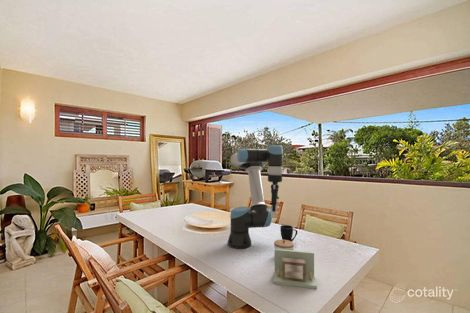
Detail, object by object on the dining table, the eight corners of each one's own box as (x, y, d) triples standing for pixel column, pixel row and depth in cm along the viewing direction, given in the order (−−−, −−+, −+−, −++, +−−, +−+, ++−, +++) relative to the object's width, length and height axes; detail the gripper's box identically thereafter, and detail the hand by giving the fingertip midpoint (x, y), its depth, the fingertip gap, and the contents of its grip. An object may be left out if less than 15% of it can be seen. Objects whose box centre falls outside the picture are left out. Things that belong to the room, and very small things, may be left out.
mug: (292, 245, 144) (292, 230, 145) (277, 240, 154) (277, 226, 154) (300, 242, 150) (300, 228, 150) (285, 238, 159) (285, 224, 159)
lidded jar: (281, 262, 121) (281, 244, 121) (270, 254, 131) (270, 238, 131) (297, 258, 125) (297, 241, 125) (285, 251, 135) (285, 235, 135)
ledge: (273, 283, 100) (273, 258, 100) (274, 271, 110) (274, 248, 111) (316, 289, 96) (316, 262, 96) (313, 276, 106) (313, 252, 107)
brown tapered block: (282, 279, 101) (282, 261, 101) (282, 274, 105) (282, 257, 105) (305, 282, 99) (305, 263, 99) (305, 277, 103) (305, 259, 103)
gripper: (281, 176, 108) (281, 221, 109) (282, 172, 132) (281, 208, 133) (265, 176, 110) (265, 220, 110) (269, 172, 134) (269, 207, 135)
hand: (274, 213), depth 122 cm, fingers open, 13 cm apart
